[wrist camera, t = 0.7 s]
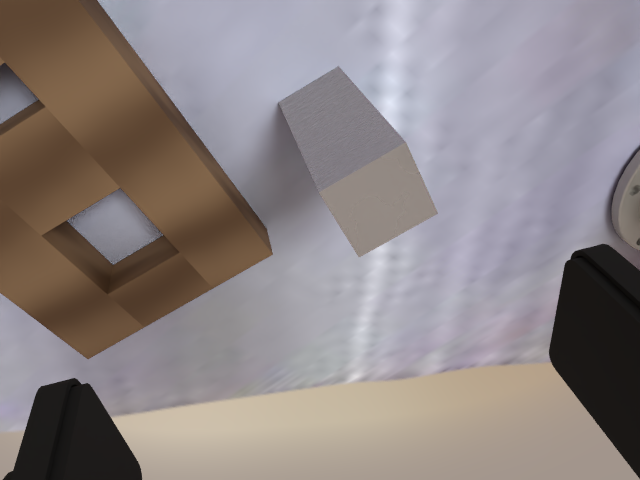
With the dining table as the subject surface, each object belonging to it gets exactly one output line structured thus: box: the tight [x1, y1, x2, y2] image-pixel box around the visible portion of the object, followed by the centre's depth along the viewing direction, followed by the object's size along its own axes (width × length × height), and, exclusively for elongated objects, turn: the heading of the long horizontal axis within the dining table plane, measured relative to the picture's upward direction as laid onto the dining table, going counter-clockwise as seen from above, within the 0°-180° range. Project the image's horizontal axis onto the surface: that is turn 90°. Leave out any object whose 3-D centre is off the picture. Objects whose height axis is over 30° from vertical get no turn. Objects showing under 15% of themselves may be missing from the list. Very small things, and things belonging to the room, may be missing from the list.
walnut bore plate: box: [0, 0, 273, 359], centre depth 28 cm, size 20×14×3 cm
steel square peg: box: [278, 66, 438, 257], centre depth 26 cm, size 4×4×11 cm
